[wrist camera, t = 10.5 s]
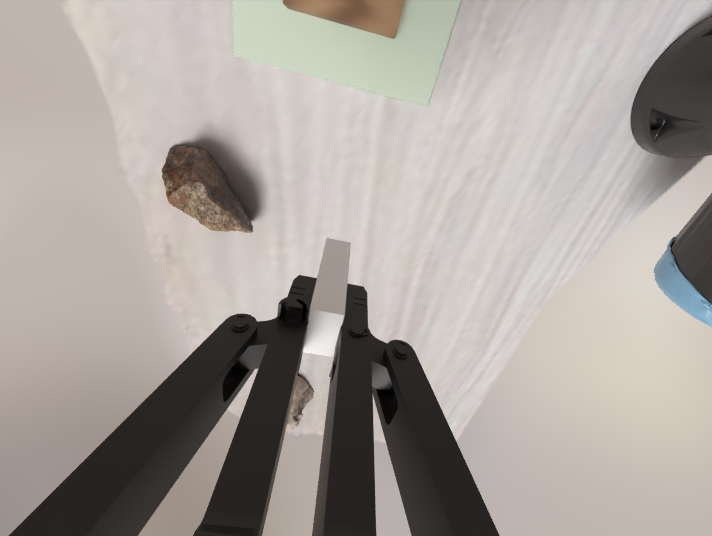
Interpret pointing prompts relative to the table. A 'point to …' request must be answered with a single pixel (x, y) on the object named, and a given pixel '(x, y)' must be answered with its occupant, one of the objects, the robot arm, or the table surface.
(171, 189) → the rock
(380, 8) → the board
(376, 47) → the mat
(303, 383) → the rock
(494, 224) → the table surface
